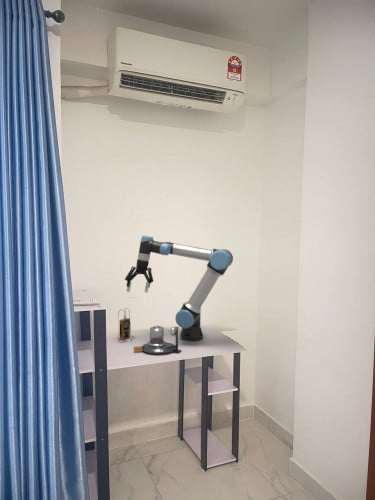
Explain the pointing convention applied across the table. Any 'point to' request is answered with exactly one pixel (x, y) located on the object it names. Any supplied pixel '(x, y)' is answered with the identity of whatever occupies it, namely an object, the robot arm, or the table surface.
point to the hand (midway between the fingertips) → (137, 292)
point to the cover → (156, 337)
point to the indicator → (175, 332)
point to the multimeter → (125, 328)
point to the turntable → (155, 348)
